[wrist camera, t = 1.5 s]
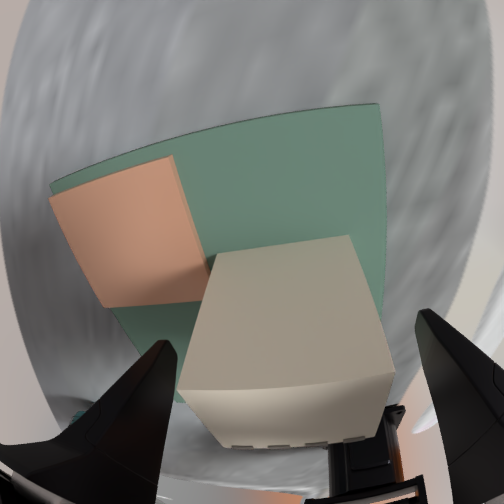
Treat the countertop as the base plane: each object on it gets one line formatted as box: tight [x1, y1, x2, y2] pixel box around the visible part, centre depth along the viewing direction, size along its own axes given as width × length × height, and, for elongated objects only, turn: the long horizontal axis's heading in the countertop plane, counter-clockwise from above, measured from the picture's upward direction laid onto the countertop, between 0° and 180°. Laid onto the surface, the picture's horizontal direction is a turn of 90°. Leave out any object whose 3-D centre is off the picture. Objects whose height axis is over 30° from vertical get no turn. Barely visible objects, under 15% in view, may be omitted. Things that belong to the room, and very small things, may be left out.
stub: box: [176, 235, 395, 450], centre depth 9 cm, size 4×5×6 cm
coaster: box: [48, 154, 211, 308], centre depth 11 cm, size 6×6×1 cm
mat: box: [49, 103, 387, 403], centre depth 13 cm, size 16×13×1 cm
